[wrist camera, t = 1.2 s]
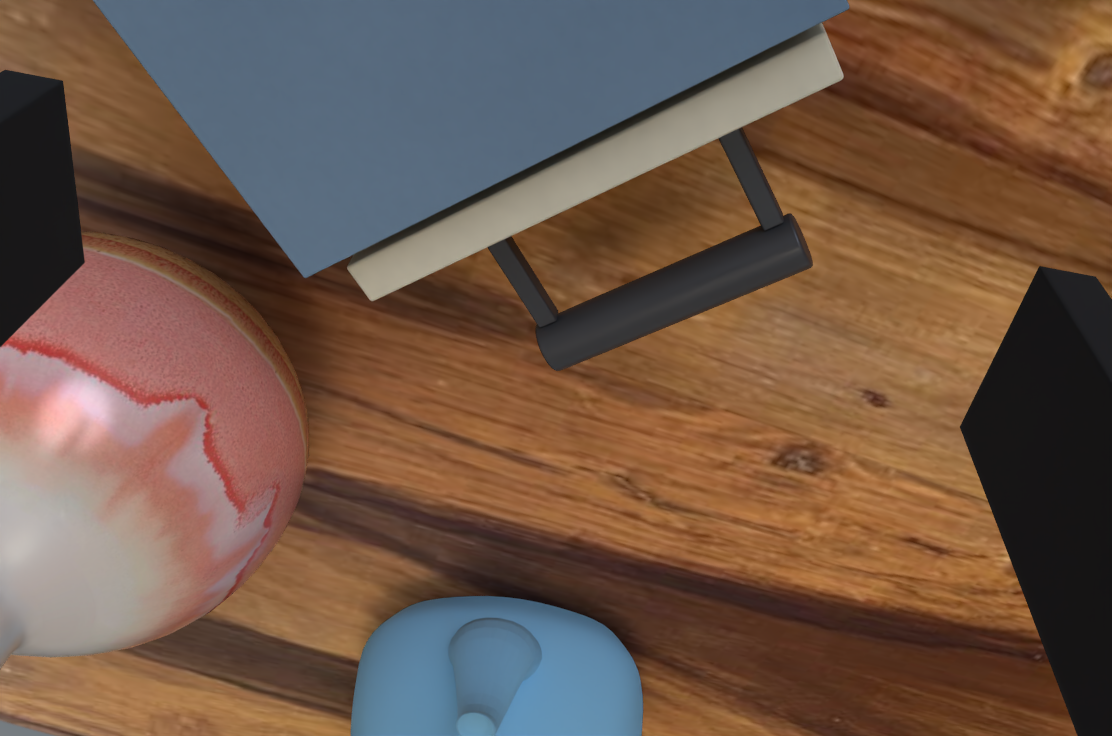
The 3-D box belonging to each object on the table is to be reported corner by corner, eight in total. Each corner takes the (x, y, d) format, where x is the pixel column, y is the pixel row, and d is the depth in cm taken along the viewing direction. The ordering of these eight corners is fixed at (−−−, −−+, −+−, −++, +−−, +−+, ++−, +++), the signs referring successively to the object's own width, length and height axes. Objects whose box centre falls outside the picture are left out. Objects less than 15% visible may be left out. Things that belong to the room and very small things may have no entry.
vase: (66, 483, 43) (-243, 896, 28) (-77, 183, 35) (-599, 535, 21) (380, 478, 41) (219, 917, 27) (298, 160, 34) (12, 530, 19)
